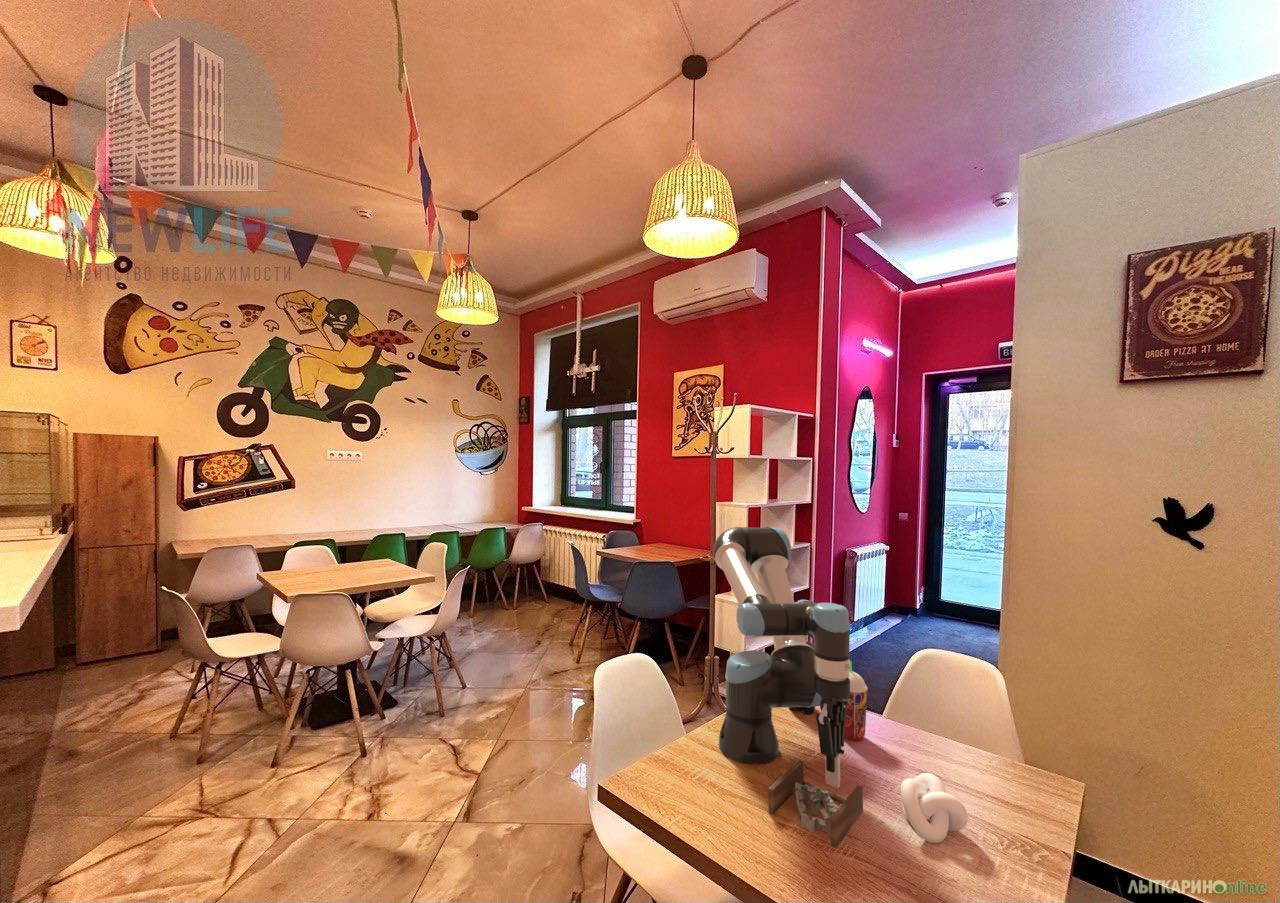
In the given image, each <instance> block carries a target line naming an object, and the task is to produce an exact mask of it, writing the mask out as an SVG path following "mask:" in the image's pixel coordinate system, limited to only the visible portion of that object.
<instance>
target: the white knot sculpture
mask: <svg viewBox="0 0 1280 903" xmlns="http://www.w3.org/2000/svg"><path fill="white" fill-rule="evenodd" d="M929 791H930V792H929ZM900 798H901V803H902V812H903V815H904V816H905V818H906V819H907V821H908V822H909V823H910V824H911V826H912V827H913V829H914V830H915V831H916V833H917V834H918V836H920V838H922V839H923V840H924V841H926V842H928V843H932V844H940V843H941V842H943V841H944V840H945V838H946V837H947V836H948V835H947V834H948V832H949V831H950V832H958V831H961V830H962V829H965V827H967V824H968V821H969V815H968V812H967V809H966V807H965V806H964V805H963V803H962V802H961V801H960V800H959V799H958V798H957V797H956V796H954V795H952V794H950V793H948V792H947V790H946V787H945V785H944V783H943V781H942V779H940V777H938V776H937V775H935V774H933V773H929V772H923V773H921V774H918V775H916V777H915V778H906V779H904V780H903V781H902V782H901V785H900ZM928 820H930V822H929V821H928Z"/></svg>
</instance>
